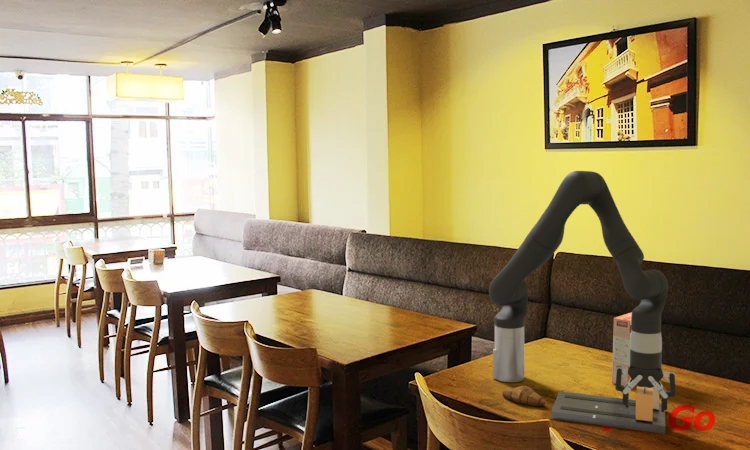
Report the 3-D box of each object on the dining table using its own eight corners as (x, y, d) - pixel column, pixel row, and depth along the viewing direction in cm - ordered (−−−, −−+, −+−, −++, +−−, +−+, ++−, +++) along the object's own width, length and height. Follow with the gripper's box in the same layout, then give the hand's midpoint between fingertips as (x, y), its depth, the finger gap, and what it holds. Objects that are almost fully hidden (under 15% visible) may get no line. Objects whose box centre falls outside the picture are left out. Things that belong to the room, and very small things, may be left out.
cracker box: (629, 389, 194) (630, 320, 192) (611, 383, 199) (612, 317, 197) (652, 377, 203) (653, 312, 201) (634, 373, 208) (635, 309, 206)
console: (550, 419, 173) (550, 411, 173) (559, 396, 189) (559, 389, 189) (665, 435, 162) (665, 426, 162) (664, 409, 178) (664, 402, 178)
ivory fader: (642, 407, 174) (643, 381, 173) (643, 400, 178) (643, 375, 178) (658, 409, 172) (659, 383, 172) (658, 402, 177) (659, 377, 176)
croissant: (550, 404, 184) (550, 387, 184) (538, 411, 179) (538, 394, 179) (509, 393, 193) (509, 377, 193) (497, 400, 189) (496, 383, 188)
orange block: (635, 419, 166) (636, 392, 166) (636, 412, 171) (636, 386, 170) (652, 421, 165) (653, 394, 164) (652, 414, 169) (653, 387, 169)
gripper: (615, 349, 165) (614, 410, 167) (676, 354, 160) (675, 418, 161) (616, 341, 172) (616, 400, 174) (675, 346, 166) (674, 407, 168)
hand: (644, 408), depth 167 cm, fingers open, 8 cm apart
